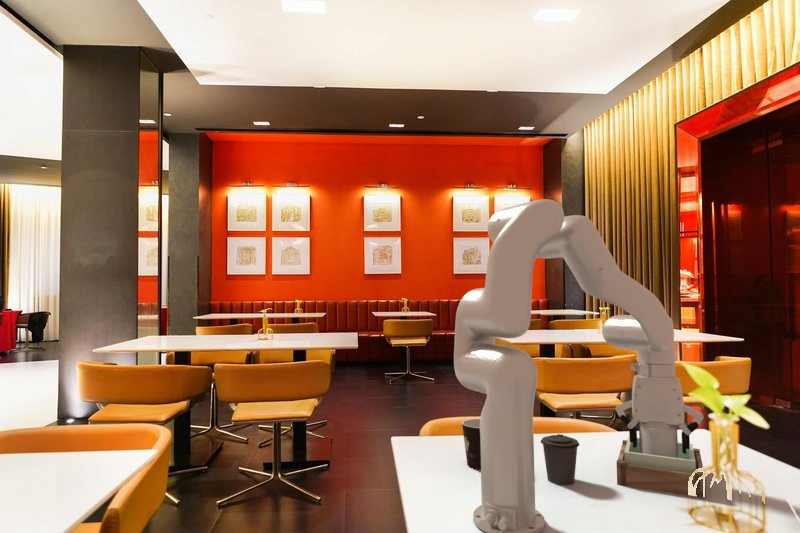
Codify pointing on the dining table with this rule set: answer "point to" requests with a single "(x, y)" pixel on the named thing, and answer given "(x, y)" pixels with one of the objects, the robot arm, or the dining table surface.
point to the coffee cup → (560, 458)
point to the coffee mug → (472, 442)
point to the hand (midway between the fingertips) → (659, 448)
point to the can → (658, 439)
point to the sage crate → (661, 459)
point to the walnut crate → (658, 476)
